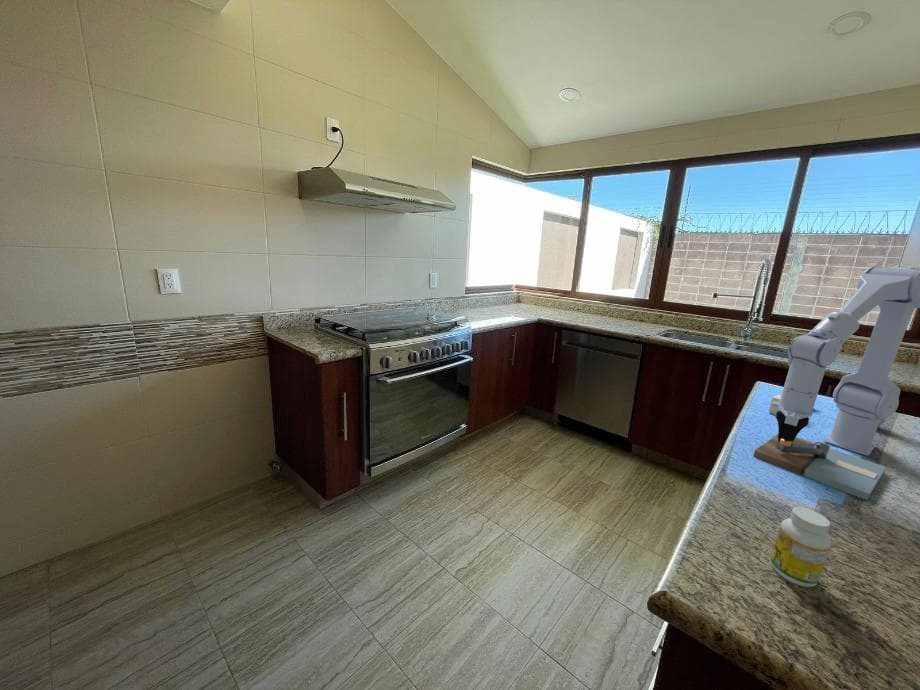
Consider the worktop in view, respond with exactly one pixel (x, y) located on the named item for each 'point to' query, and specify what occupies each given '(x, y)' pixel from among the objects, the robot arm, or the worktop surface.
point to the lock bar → (803, 448)
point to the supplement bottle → (802, 547)
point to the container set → (773, 408)
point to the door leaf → (846, 473)
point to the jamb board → (785, 456)
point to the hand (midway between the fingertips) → (783, 444)
